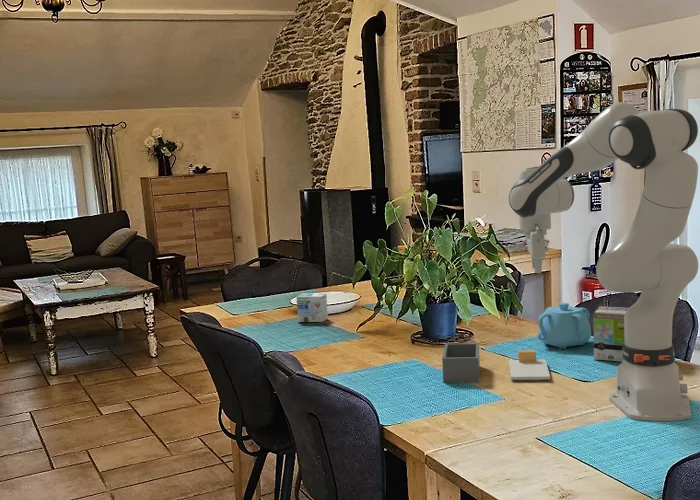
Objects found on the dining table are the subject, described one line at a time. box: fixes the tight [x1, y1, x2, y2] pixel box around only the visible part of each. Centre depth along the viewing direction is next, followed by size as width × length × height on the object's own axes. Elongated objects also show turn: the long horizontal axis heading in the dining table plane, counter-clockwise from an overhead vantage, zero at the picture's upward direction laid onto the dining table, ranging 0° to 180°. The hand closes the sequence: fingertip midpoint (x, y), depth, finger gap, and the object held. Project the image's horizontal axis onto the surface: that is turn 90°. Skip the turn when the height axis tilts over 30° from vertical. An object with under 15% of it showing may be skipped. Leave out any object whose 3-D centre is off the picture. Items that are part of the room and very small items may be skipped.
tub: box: [441, 342, 481, 384], centre depth 223 cm, size 16×10×7 cm, turn 170°
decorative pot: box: [537, 302, 592, 349], centre depth 248 cm, size 16×16×14 cm
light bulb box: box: [296, 292, 329, 323], centre depth 305 cm, size 11×7×11 cm, turn 73°
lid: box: [508, 349, 551, 381], centre depth 220 cm, size 17×11×5 cm, turn 170°
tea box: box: [593, 305, 629, 363], centre depth 228 cm, size 15×10×15 cm, turn 62°
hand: (537, 270), depth 223 cm, fingers open, 8 cm apart
